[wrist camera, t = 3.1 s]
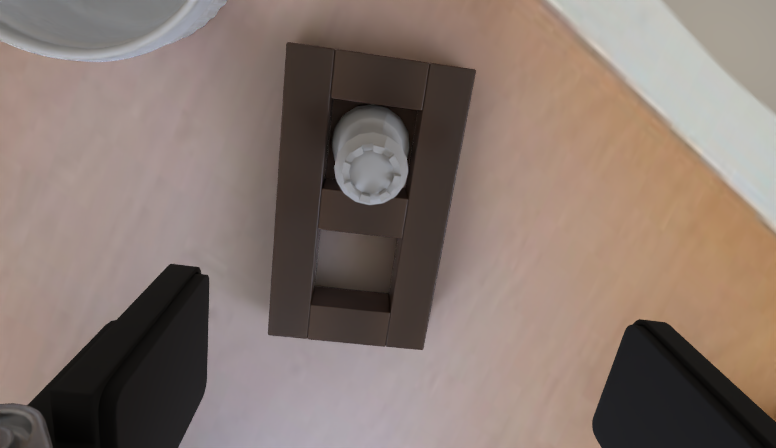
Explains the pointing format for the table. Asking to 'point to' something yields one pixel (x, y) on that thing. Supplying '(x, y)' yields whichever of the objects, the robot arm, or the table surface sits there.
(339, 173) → the rook chess piece
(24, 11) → the ramekin
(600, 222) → the table surface
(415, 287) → the stand
